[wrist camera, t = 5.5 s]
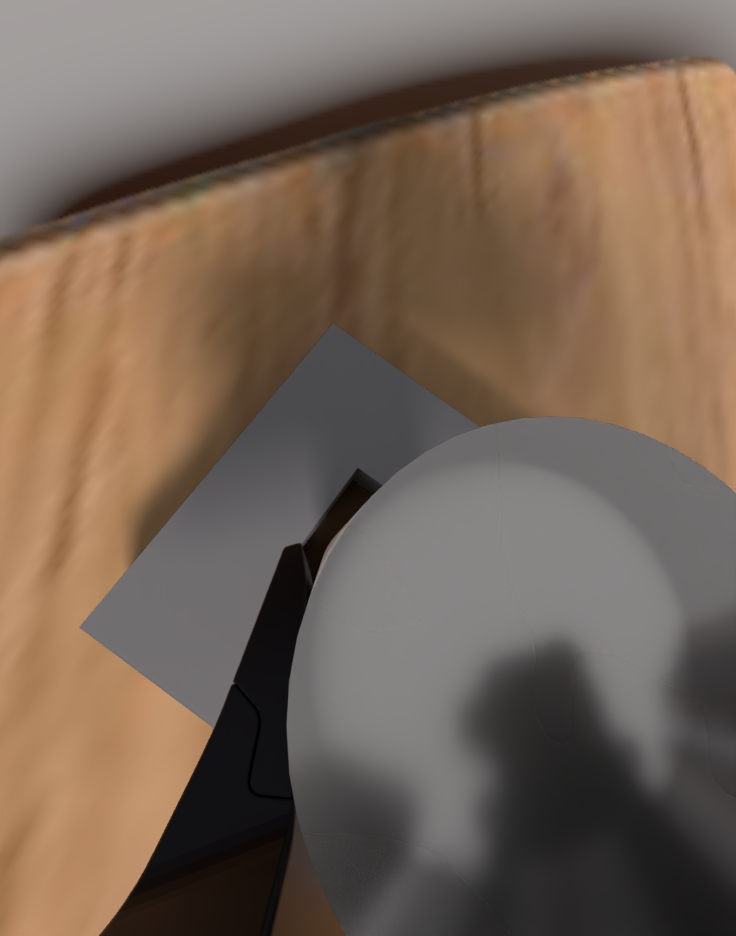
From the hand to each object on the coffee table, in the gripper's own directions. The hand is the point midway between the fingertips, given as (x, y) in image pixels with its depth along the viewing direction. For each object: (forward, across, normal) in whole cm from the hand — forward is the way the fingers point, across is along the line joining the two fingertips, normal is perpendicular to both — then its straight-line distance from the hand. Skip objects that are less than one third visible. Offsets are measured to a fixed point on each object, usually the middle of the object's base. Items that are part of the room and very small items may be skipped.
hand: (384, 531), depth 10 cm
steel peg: (+4, 0, +6) cm, 7 cm away
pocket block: (+4, 0, +6) cm, 8 cm away
